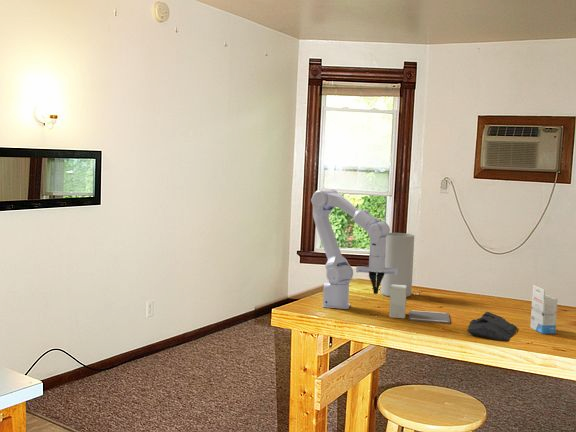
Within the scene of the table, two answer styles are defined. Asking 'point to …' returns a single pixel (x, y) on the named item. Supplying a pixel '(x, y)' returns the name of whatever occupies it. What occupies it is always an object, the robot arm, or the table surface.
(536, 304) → the ink box
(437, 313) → the mat
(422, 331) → the table surface
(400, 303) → the small box
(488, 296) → the table surface
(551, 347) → the table surface
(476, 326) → the crumpled dark cloth
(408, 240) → the cylinder vase
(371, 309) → the table surface
